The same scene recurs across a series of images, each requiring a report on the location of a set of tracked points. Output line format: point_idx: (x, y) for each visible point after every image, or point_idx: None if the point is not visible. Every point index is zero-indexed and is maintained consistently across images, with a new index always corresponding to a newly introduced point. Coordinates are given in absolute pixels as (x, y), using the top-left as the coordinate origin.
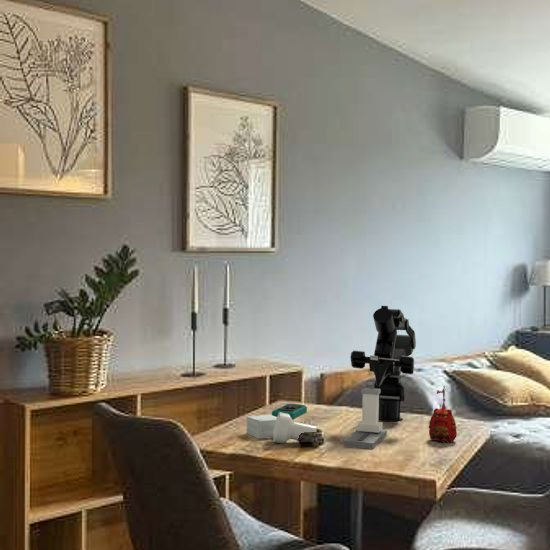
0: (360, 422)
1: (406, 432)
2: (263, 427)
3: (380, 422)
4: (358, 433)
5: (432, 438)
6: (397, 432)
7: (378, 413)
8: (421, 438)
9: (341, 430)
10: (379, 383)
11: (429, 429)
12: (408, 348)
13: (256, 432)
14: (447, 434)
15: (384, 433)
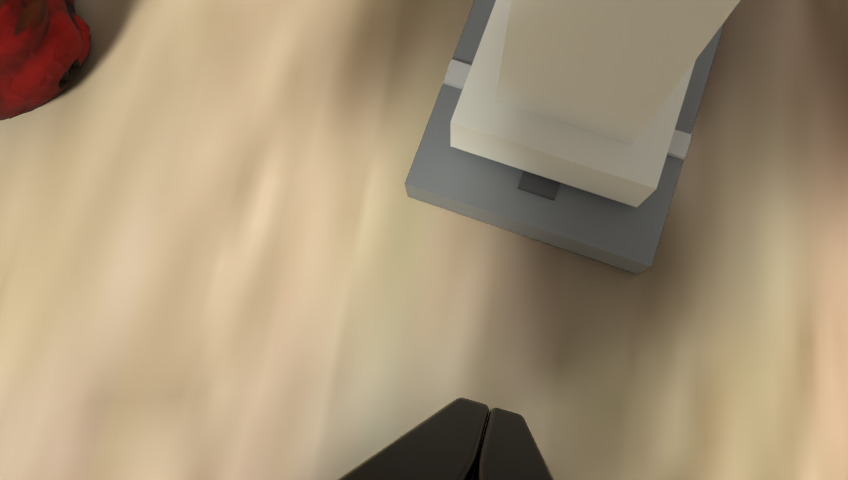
0: (675, 93)
1: (209, 336)
2: None
3: (471, 113)
4: None
5: (77, 17)
6: (290, 329)
7: (502, 57)
8: (145, 112)
9: (800, 374)
10: (454, 406)
11: (51, 33)
12: None
13: None
14: None
15: (440, 94)
